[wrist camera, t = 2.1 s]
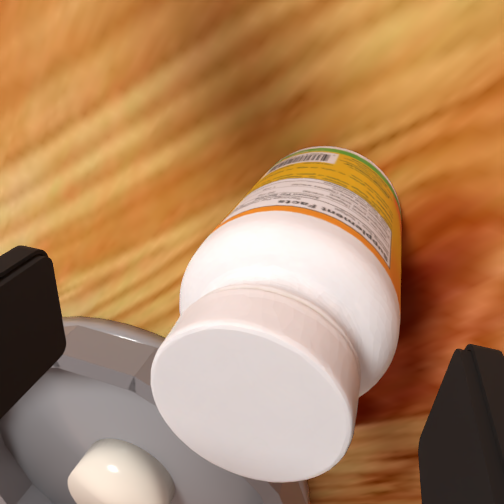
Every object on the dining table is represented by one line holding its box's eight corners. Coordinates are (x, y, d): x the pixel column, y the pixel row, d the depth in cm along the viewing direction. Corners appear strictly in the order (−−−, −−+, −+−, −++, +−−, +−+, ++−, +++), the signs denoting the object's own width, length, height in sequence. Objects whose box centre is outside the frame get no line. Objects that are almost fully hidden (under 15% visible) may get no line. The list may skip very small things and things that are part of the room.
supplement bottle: (340, 300, 18) (285, 541, 10) (233, 224, 18) (83, 401, 9) (436, 203, 15) (473, 428, 7) (308, 111, 15) (184, 224, 6)
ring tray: (341, 383, 20) (332, 437, 17) (287, 608, 30) (276, 661, 28) (-44, 276, 25) (-95, 305, 22) (27, 501, 35) (-2, 538, 33)
